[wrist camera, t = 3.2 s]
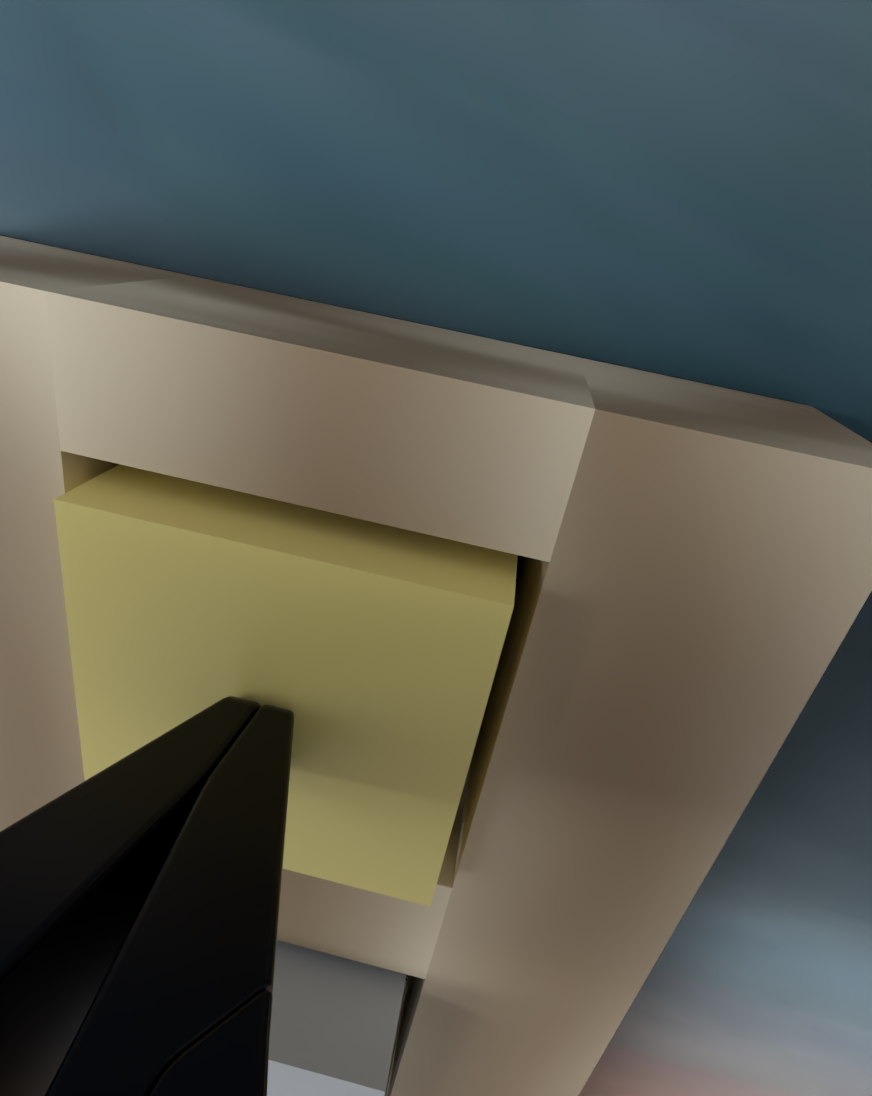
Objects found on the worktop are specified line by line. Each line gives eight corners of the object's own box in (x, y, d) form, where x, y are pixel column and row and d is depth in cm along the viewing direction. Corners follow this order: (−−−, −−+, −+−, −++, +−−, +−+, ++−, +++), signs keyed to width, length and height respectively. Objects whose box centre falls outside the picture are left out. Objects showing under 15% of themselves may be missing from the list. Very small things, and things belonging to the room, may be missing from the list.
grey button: (171, 981, 14) (88, 1149, 12) (168, 836, 12) (64, 1003, 10) (383, 1039, 14) (347, 1224, 12) (420, 901, 12) (384, 1092, 9)
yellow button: (191, 686, 12) (88, 818, 9) (191, 425, 9) (53, 499, 7) (455, 750, 11) (430, 907, 9) (521, 499, 9) (514, 605, 6)
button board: (97, 1077, 21) (31, 1203, 18) (-19, 231, 9) (-249, 228, 6) (457, 1179, 20) (445, 1325, 17) (812, 406, 9) (934, 481, 6)
